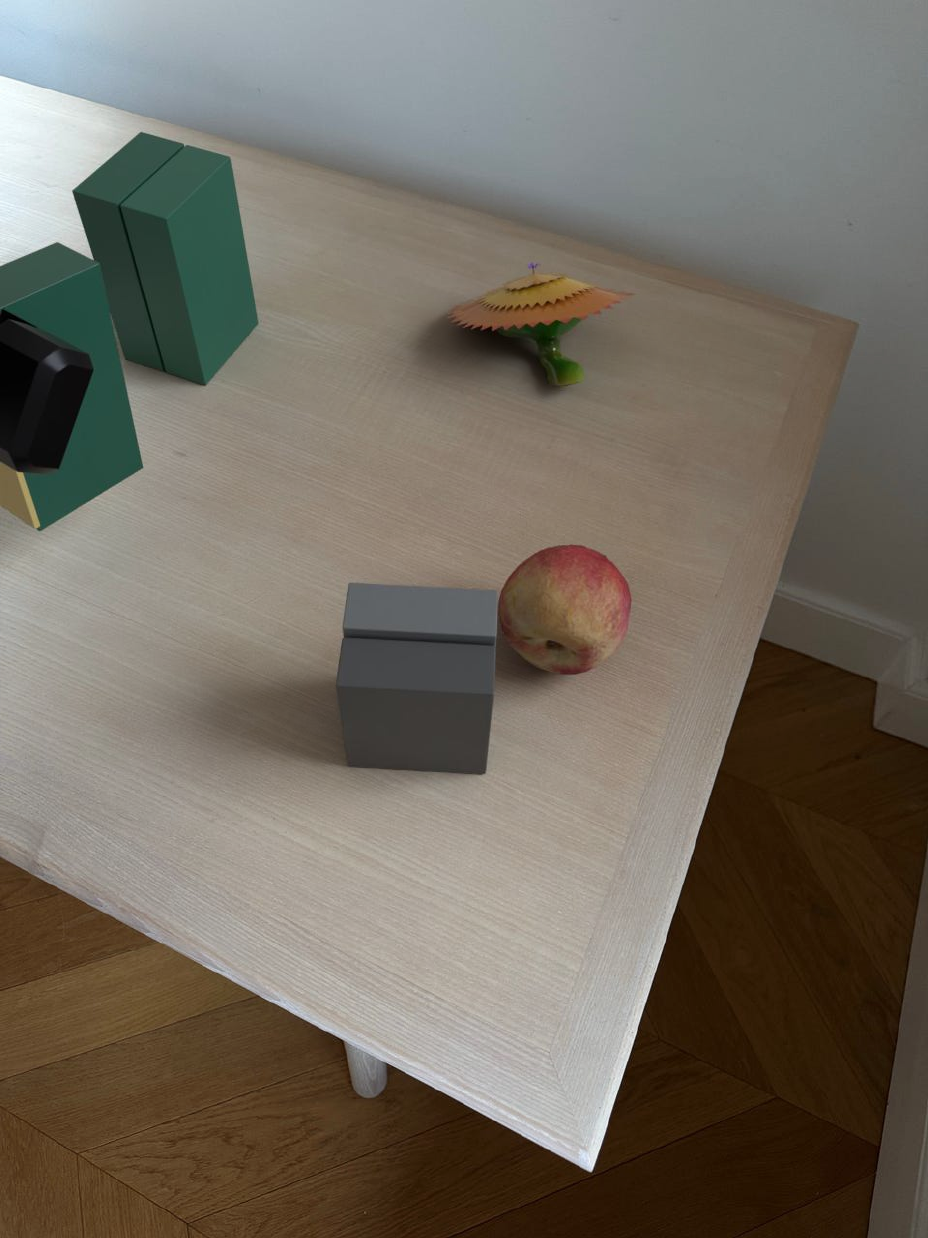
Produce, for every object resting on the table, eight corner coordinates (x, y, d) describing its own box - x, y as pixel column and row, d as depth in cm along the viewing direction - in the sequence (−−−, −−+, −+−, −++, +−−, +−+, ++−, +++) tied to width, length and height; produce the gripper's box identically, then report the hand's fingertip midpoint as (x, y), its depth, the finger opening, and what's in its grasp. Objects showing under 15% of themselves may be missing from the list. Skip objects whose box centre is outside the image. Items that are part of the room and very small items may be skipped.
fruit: (471, 645, 63) (476, 566, 56) (552, 577, 66) (566, 495, 60) (565, 723, 60) (582, 649, 53) (645, 647, 63) (670, 569, 57)
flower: (674, 345, 80) (661, 232, 76) (597, 396, 70) (578, 271, 67) (515, 356, 88) (496, 256, 85) (428, 404, 79) (403, 293, 75)
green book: (36, 534, 60) (-34, 323, 49) (-2, 508, 61) (-79, 297, 51) (144, 468, 64) (100, 263, 54) (106, 445, 66) (56, 240, 56)
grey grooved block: (347, 767, 58) (334, 680, 50) (358, 675, 62) (348, 581, 54) (485, 774, 58) (494, 689, 50) (489, 682, 61) (498, 589, 54)
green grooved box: (205, 385, 76) (166, 218, 64) (124, 358, 77) (71, 190, 66) (259, 323, 80) (230, 156, 69) (181, 298, 82) (140, 131, 70)
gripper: (-12, 196, 38) (228, 293, 53) (-312, 50, 44) (-20, 174, 58) (-97, 466, 41) (155, 488, 55) (-370, 296, 46) (-76, 356, 61)
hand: (51, 368), depth 57 cm, fingers closed on green book, 4 cm apart
